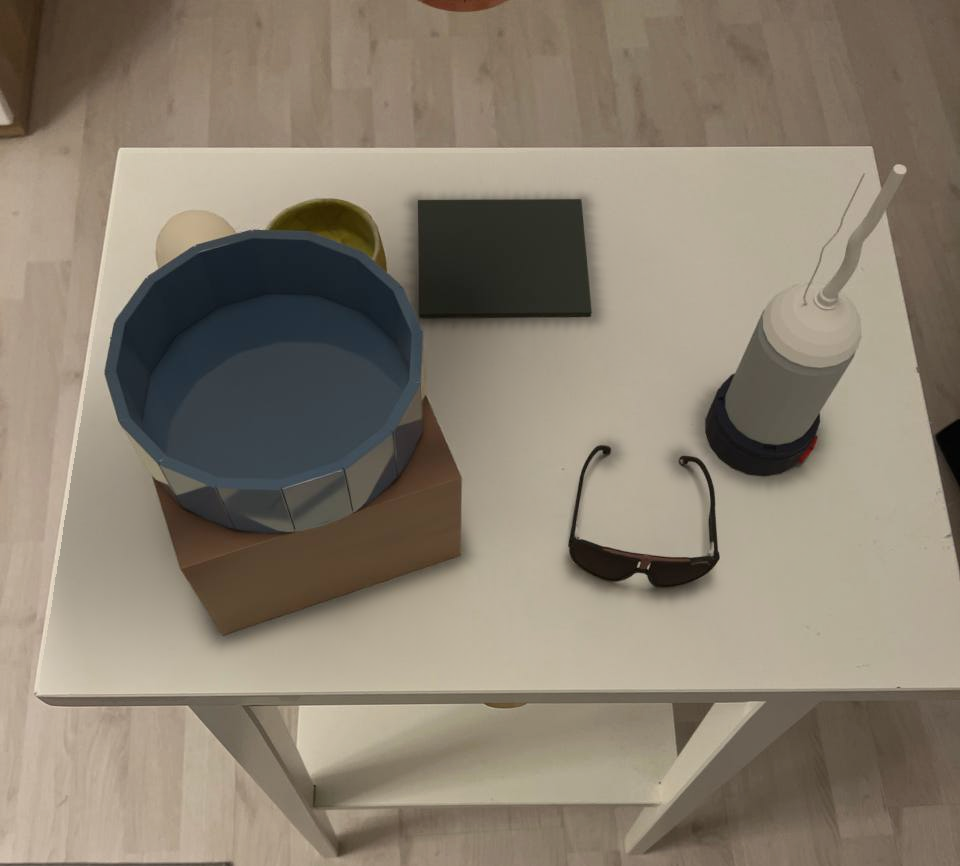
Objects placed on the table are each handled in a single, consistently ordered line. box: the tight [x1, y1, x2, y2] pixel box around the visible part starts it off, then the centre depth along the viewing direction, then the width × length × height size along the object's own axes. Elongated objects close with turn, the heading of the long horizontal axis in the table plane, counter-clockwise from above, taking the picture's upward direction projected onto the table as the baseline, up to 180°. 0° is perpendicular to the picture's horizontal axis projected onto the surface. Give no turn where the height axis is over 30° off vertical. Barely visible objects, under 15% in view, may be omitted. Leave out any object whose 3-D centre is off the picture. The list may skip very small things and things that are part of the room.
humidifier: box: [704, 163, 908, 477], centre depth 63 cm, size 8×8×25 cm
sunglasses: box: [567, 444, 721, 589], centre depth 69 cm, size 11×12×5 cm
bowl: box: [103, 228, 427, 533], centre depth 59 cm, size 18×18×5 cm
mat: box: [417, 198, 593, 319], centre depth 79 cm, size 14×12×1 cm
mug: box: [264, 197, 388, 273], centre depth 74 cm, size 12×10×10 cm
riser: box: [109, 336, 463, 636], centre depth 66 cm, size 18×18×11 cm
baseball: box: [155, 209, 238, 270], centre depth 75 cm, size 7×7×7 cm
